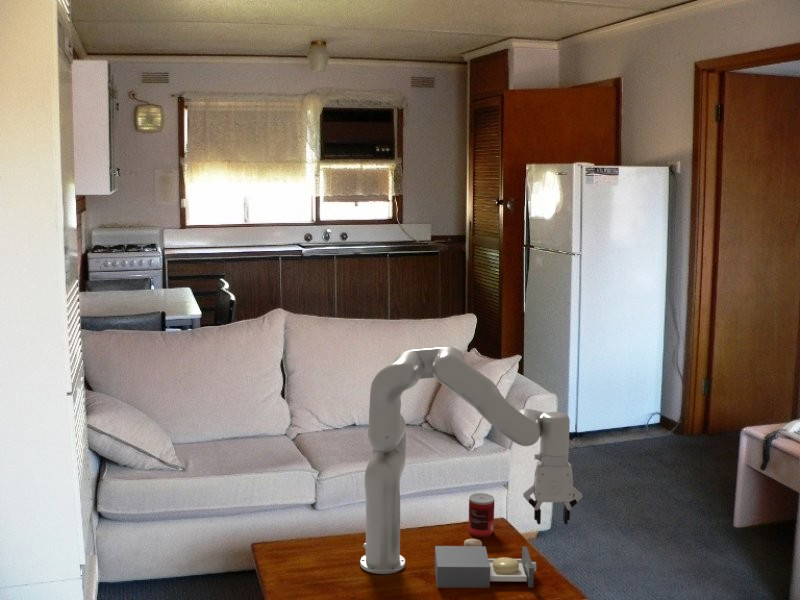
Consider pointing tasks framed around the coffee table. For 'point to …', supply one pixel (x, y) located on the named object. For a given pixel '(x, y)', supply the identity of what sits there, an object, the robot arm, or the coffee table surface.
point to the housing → (462, 566)
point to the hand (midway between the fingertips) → (551, 521)
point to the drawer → (522, 575)
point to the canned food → (481, 515)
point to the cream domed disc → (505, 566)
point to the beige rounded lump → (472, 542)
